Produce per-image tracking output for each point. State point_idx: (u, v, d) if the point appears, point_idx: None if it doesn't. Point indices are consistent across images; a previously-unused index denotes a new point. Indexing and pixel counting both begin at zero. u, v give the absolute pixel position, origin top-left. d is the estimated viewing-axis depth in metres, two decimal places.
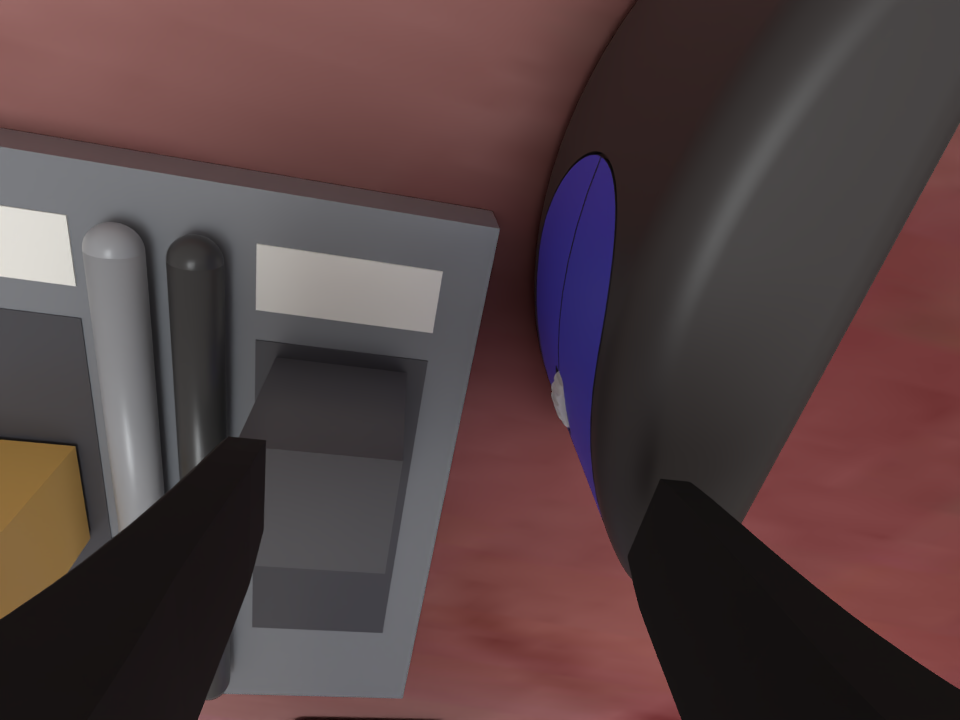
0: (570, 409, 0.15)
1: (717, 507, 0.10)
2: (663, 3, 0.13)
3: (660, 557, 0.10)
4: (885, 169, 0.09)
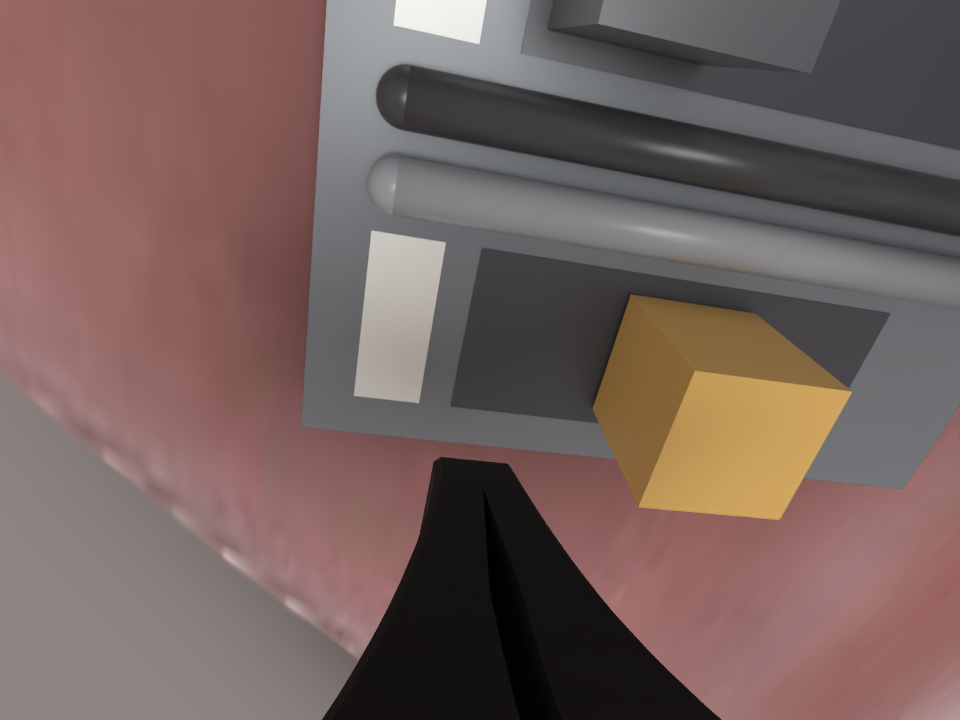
0: None
1: (517, 489, 0.09)
2: None
3: None
4: None
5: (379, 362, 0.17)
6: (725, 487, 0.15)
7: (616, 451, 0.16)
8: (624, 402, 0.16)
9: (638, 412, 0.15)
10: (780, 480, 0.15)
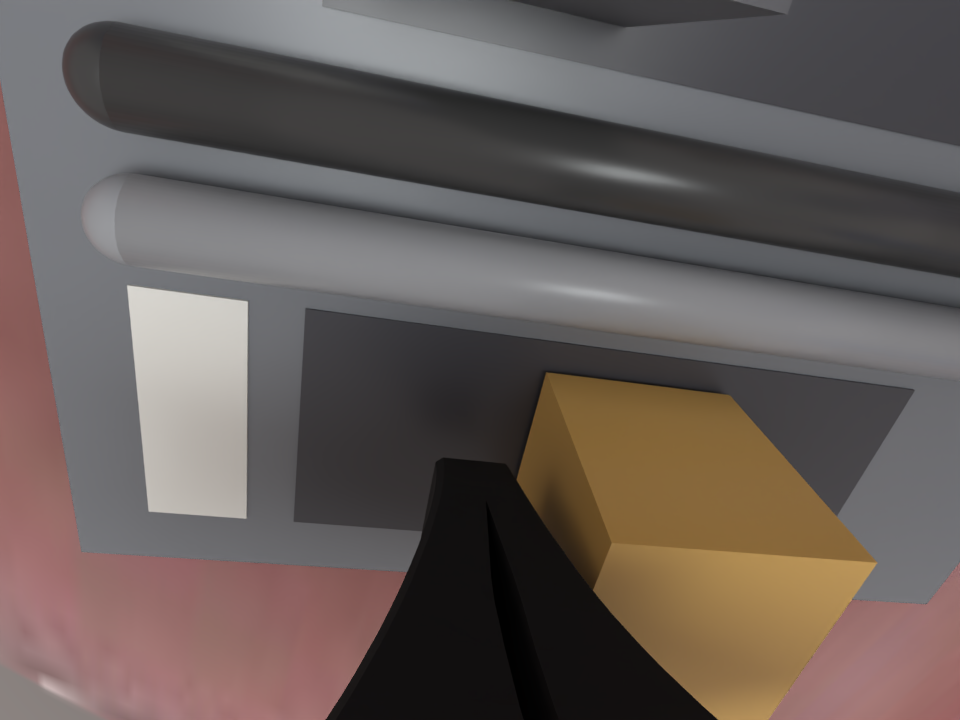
0: None
1: (515, 488, 0.09)
2: None
3: None
4: None
5: (178, 466, 0.12)
6: None
7: None
8: None
9: None
10: (762, 681, 0.09)
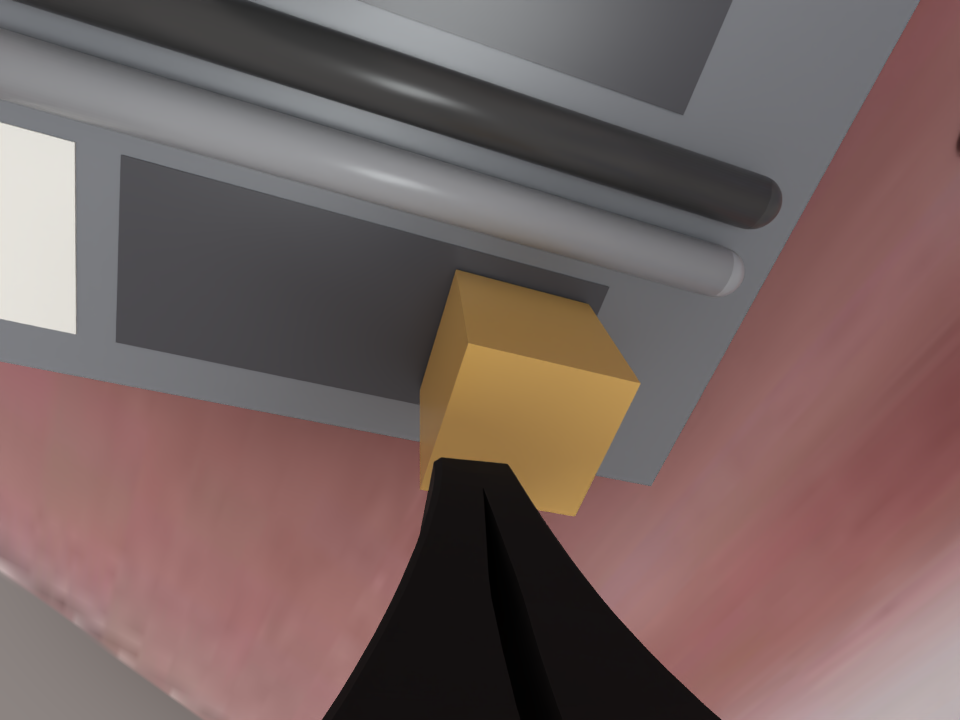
0: None
1: (517, 489, 0.09)
2: None
3: None
4: None
5: (18, 279, 0.15)
6: None
7: (421, 432, 0.15)
8: (433, 381, 0.15)
9: (437, 390, 0.14)
10: (572, 473, 0.14)
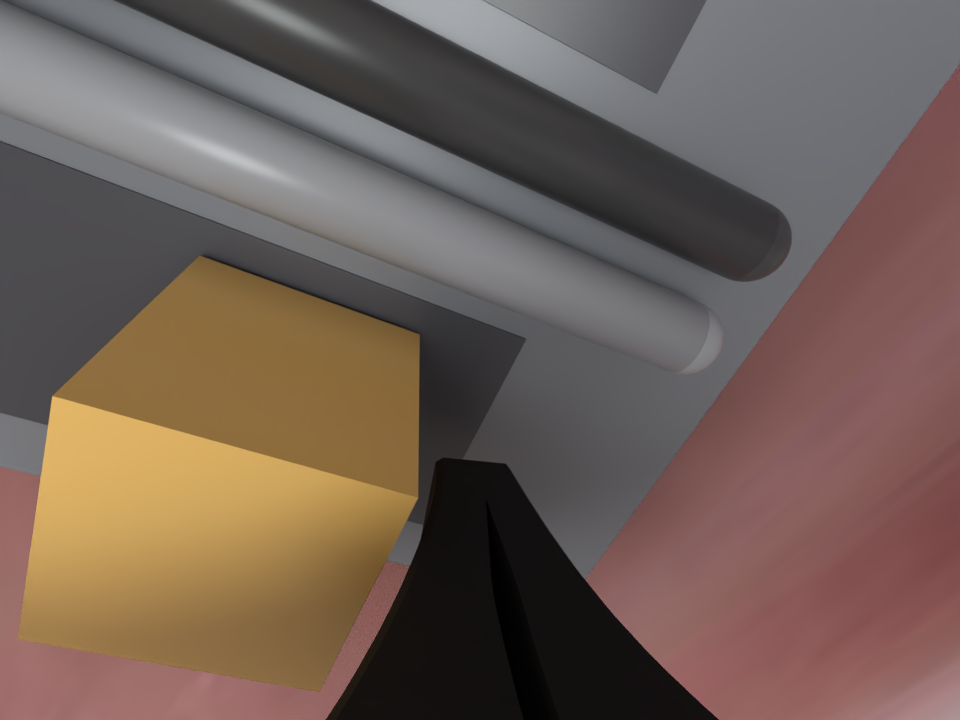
0: None
1: (515, 488, 0.09)
2: None
3: None
4: None
5: None
6: (195, 628, 0.08)
7: None
8: None
9: None
10: (305, 630, 0.08)
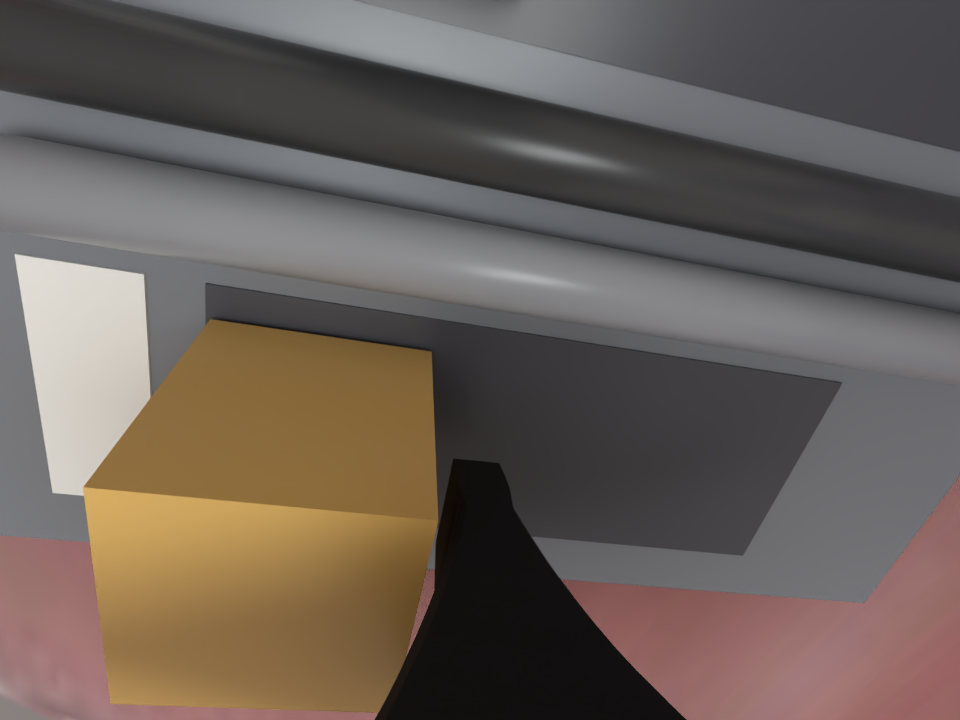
0: None
1: (494, 486, 0.09)
2: None
3: (446, 541, 0.10)
4: None
5: (80, 446, 0.12)
6: (263, 671, 0.08)
7: None
8: None
9: None
10: (364, 659, 0.08)
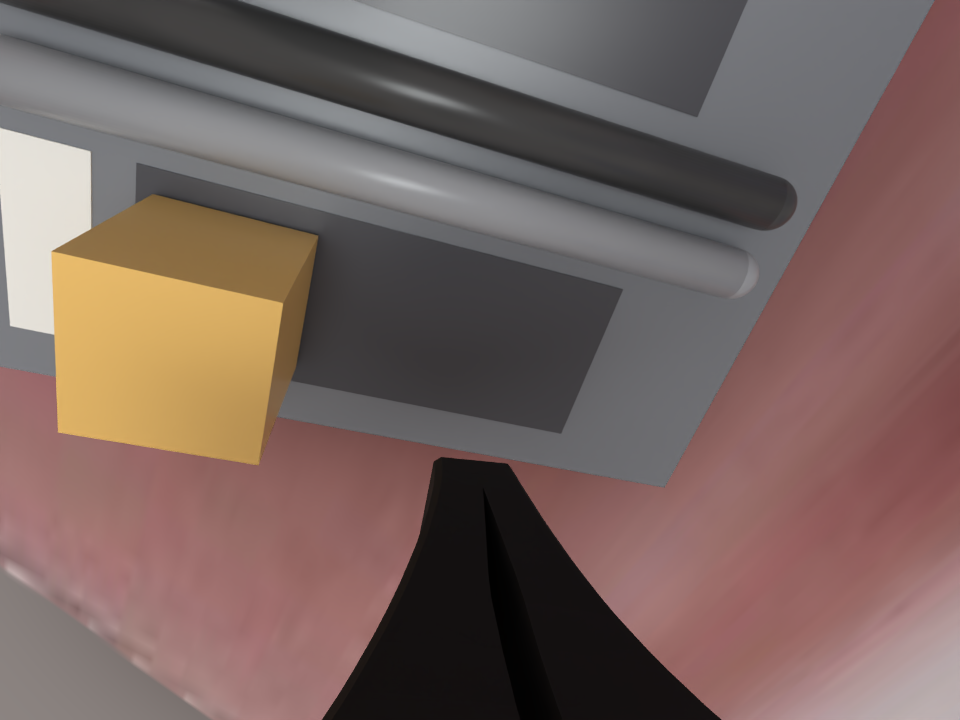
0: None
1: (517, 488, 0.09)
2: None
3: None
4: None
5: (34, 288, 0.15)
6: (166, 416, 0.12)
7: None
8: None
9: None
10: (237, 413, 0.12)
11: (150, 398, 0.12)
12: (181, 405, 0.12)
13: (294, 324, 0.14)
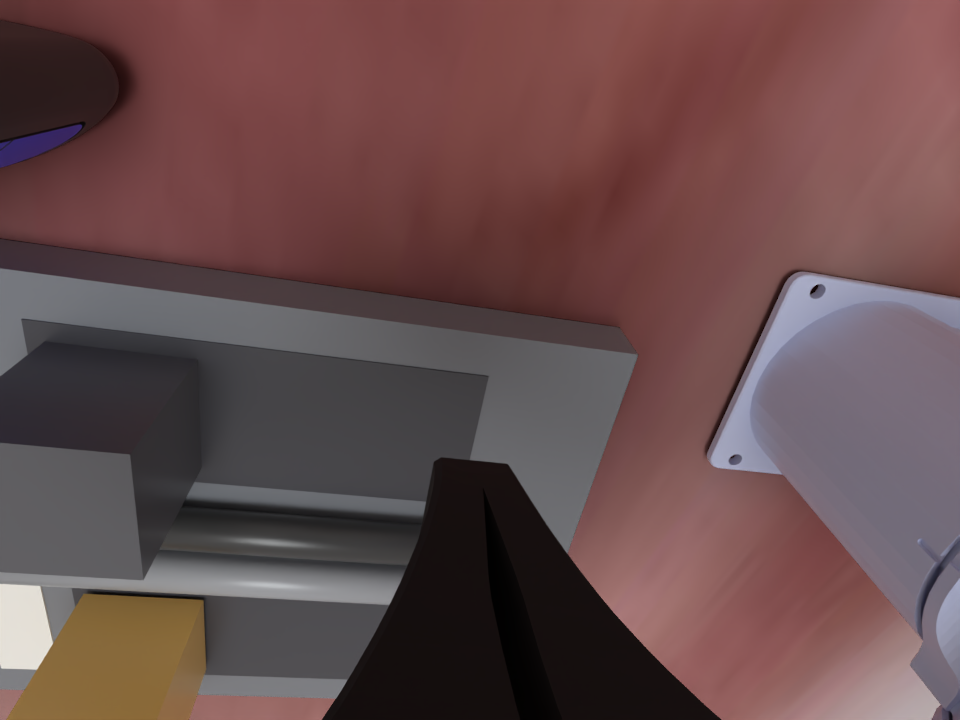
0: None
1: (517, 488, 0.09)
2: None
3: None
4: None
5: (14, 647, 0.22)
6: None
7: None
8: None
9: None
10: None
11: None
12: None
13: (185, 681, 0.20)
